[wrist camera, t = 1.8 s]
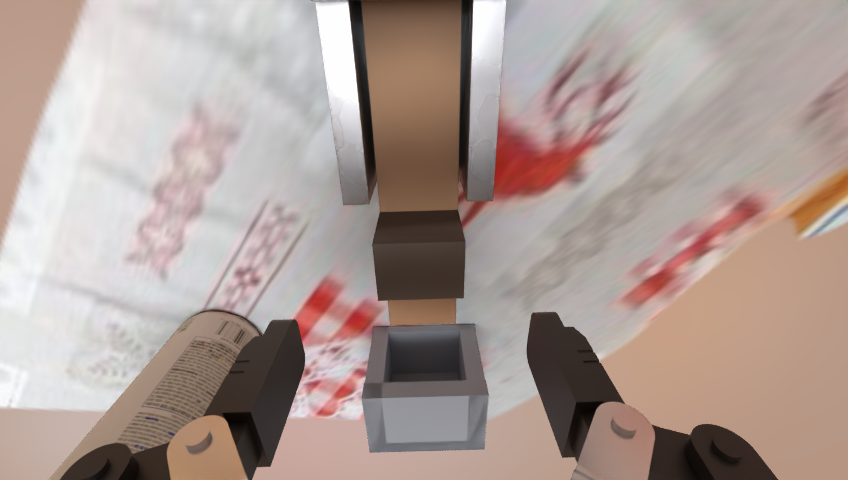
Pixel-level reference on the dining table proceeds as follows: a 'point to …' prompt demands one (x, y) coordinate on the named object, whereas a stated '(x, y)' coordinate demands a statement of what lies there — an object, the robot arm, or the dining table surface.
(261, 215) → the dining table surface
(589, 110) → the dining table surface
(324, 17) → the channel
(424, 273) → the walnut bar
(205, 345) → the spray can
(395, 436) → the socket
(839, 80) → the dining table surface
